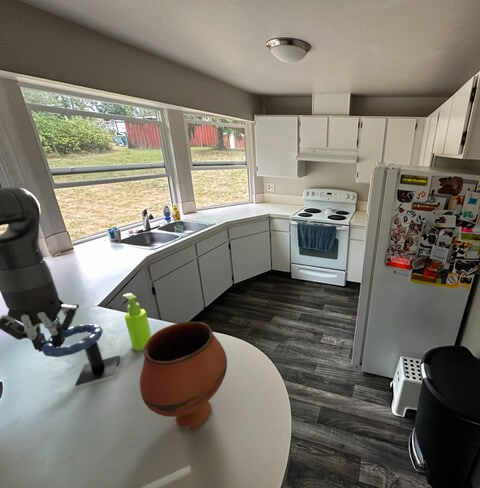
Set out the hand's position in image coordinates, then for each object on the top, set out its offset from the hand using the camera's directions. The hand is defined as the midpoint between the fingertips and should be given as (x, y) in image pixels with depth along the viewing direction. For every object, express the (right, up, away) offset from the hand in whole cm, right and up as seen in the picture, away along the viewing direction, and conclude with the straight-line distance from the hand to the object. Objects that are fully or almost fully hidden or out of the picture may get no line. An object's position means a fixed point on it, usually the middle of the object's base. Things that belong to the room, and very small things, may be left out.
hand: (51, 347), depth 59 cm
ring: (+4, +1, +2) cm, 4 cm away
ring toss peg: (-6, -16, +20) cm, 26 cm away
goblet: (+30, -22, +8) cm, 38 cm away
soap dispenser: (-2, -12, +32) cm, 34 cm away
